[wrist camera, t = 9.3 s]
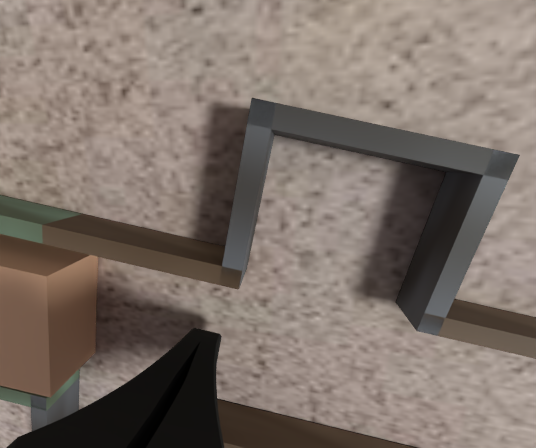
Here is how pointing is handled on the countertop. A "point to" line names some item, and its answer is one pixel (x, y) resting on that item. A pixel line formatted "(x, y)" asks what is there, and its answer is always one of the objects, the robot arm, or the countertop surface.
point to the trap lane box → (240, 241)
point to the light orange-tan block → (45, 314)
